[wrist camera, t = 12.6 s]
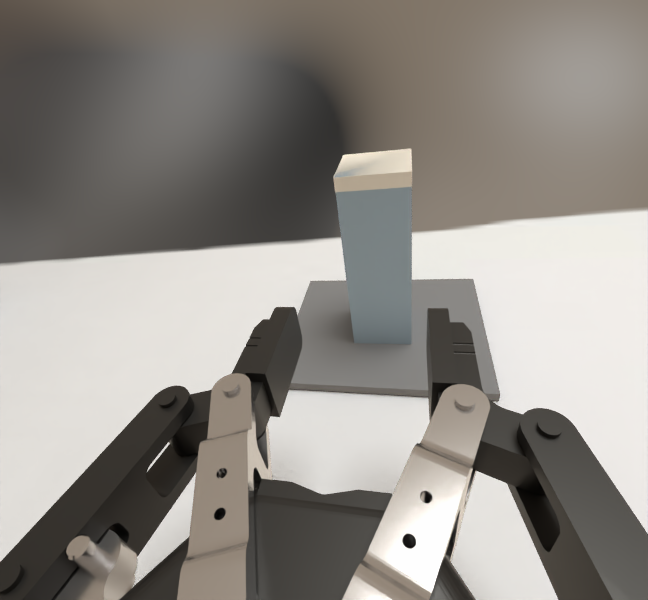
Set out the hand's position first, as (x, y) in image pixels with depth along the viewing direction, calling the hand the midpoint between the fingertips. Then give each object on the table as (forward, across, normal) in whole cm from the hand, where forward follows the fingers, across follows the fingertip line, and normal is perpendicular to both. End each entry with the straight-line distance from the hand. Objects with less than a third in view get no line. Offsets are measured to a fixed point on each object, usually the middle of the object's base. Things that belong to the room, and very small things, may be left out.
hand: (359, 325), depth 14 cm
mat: (+10, 0, +10) cm, 14 cm away
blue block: (+10, 0, +9) cm, 14 cm away
